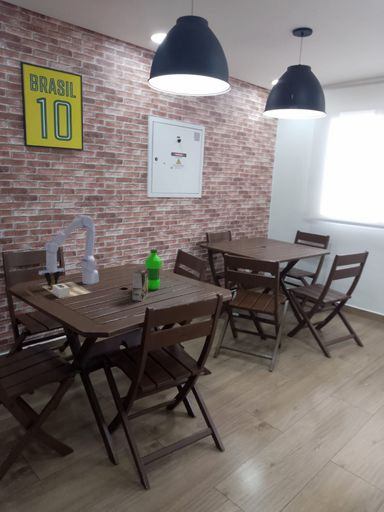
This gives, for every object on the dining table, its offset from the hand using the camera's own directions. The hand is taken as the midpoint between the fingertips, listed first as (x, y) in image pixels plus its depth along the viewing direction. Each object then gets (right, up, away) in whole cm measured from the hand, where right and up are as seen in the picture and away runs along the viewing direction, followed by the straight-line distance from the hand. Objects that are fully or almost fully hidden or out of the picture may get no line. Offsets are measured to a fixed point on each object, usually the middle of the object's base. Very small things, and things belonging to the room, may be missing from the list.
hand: (52, 284), depth 216 cm
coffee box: (+53, -8, -4) cm, 53 cm away
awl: (0, -2, 0) cm, 2 cm away
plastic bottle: (+58, -4, +15) cm, 60 cm away
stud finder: (+9, -5, -10) cm, 14 cm away
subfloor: (+8, -4, 0) cm, 9 cm away
